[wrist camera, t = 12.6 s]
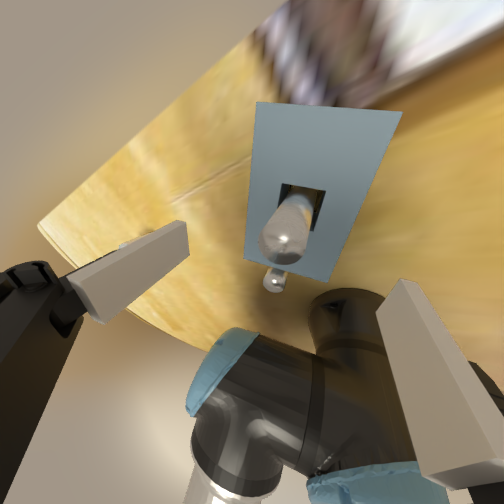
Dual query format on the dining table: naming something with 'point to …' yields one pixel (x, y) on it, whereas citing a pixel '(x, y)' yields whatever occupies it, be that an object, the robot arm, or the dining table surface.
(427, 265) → the dining table surface
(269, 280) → the short pin
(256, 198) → the hole block
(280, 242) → the tall pin
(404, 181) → the dining table surface
